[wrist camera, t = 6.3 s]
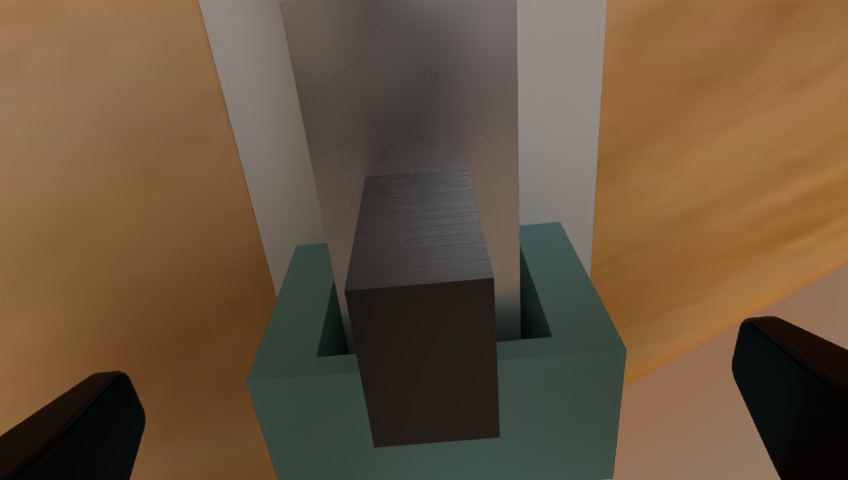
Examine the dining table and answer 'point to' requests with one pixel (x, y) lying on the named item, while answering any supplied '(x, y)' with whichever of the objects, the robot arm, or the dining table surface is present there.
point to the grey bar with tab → (417, 199)
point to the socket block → (517, 382)
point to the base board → (537, 119)
